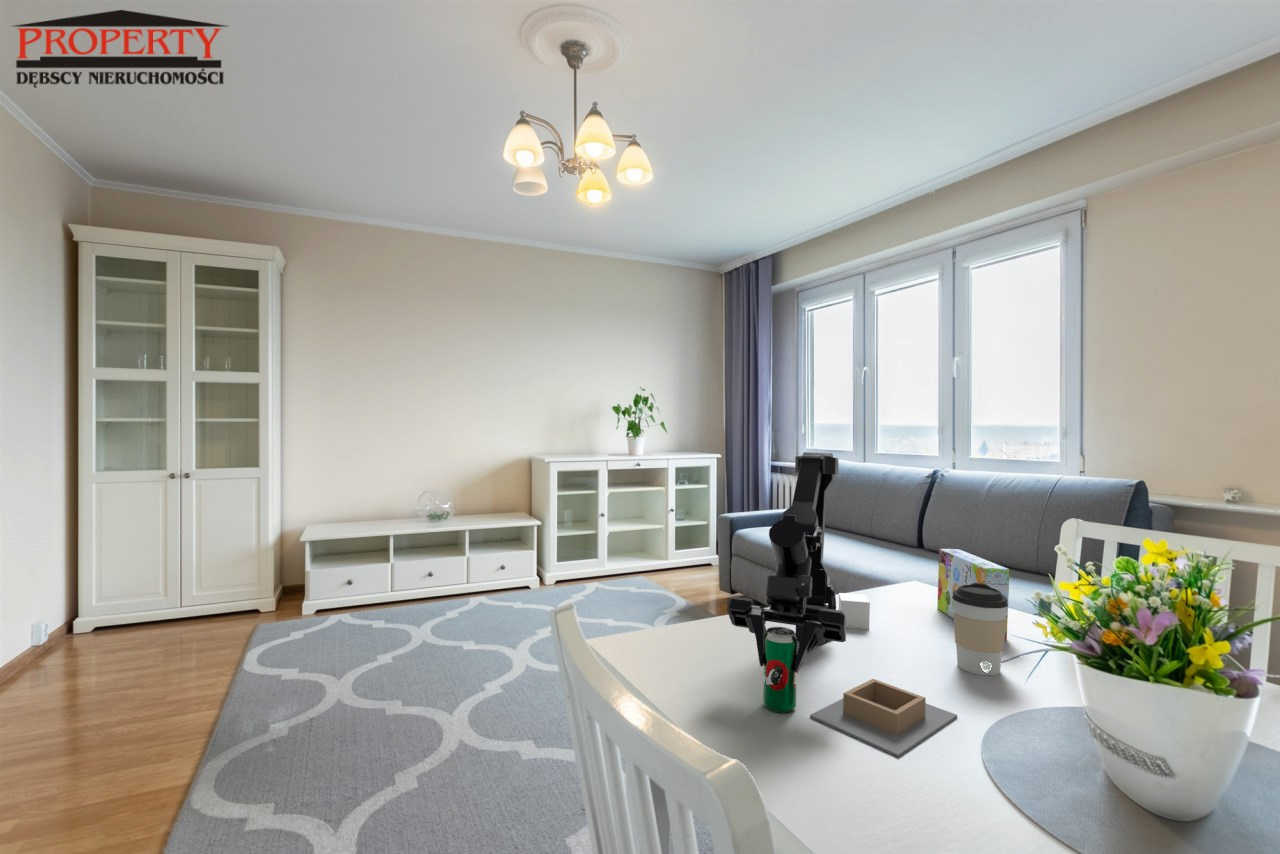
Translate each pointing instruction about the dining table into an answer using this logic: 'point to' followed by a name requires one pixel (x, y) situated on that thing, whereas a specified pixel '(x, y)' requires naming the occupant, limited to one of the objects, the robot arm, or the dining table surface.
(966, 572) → the snack box
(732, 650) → the dining table surface
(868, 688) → the can holder
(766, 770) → the dining table surface
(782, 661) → the soda can
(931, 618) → the dining table surface
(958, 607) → the coffee cup
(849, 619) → the white cube
